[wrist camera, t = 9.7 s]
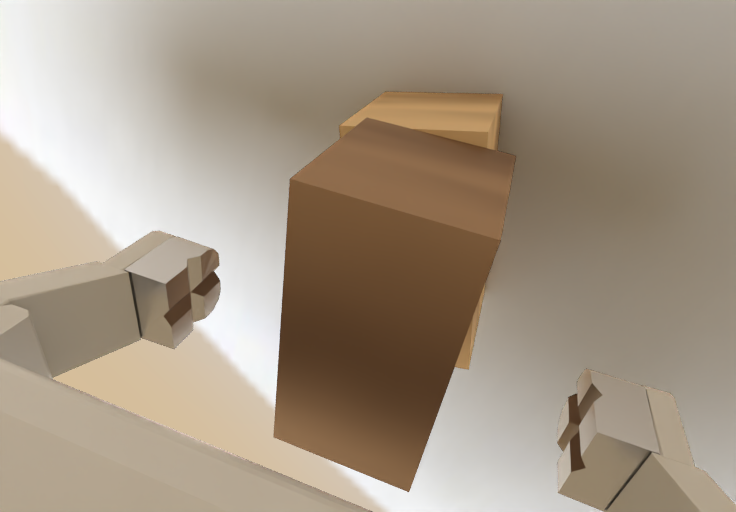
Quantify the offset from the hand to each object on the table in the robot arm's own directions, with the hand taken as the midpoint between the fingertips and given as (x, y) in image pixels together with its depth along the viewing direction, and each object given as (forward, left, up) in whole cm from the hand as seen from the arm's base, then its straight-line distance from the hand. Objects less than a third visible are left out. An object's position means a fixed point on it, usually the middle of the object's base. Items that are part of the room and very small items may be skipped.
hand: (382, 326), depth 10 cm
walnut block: (0, 0, -3) cm, 3 cm away
